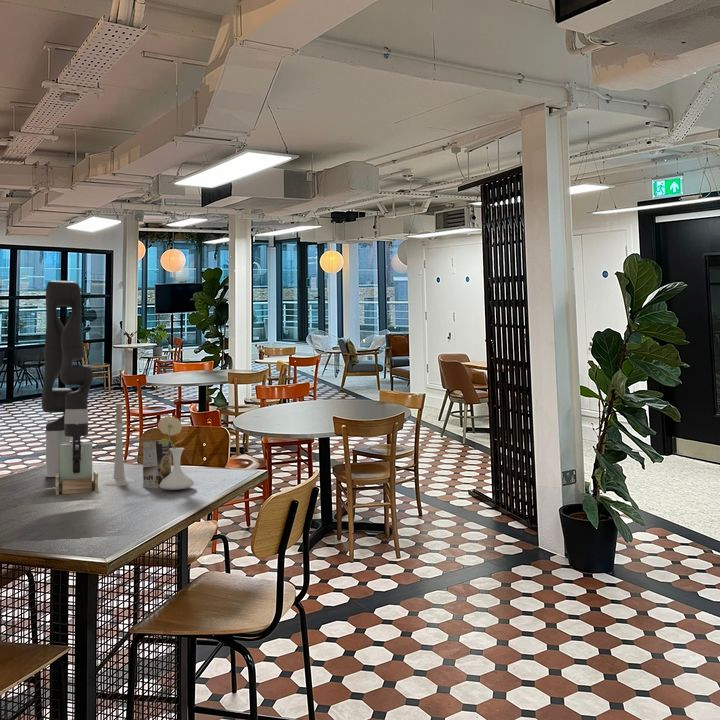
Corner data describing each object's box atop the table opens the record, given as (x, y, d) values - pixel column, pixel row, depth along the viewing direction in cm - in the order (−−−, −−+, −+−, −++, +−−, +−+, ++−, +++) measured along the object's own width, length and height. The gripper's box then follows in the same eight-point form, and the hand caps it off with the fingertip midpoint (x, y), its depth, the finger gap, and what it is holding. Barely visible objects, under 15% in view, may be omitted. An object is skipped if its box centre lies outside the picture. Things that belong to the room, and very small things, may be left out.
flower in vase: (200, 487, 216) (200, 414, 218) (182, 492, 205) (182, 415, 207) (167, 486, 220) (167, 415, 221) (148, 491, 209) (147, 416, 210)
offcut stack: (62, 493, 211) (62, 479, 211) (91, 490, 215) (91, 477, 215) (62, 494, 208) (62, 480, 208) (91, 492, 212) (91, 478, 212)
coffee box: (159, 488, 216) (159, 441, 217) (142, 488, 217) (142, 441, 218) (172, 484, 225) (172, 439, 226) (156, 484, 226) (155, 439, 227)
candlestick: (145, 484, 227) (144, 401, 229) (112, 489, 217) (112, 402, 219) (124, 482, 235) (124, 402, 236) (92, 486, 224) (92, 402, 226)
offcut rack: (55, 490, 215) (55, 473, 215) (95, 487, 221) (95, 470, 221) (55, 494, 206) (55, 476, 206) (97, 491, 211) (97, 473, 212)
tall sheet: (60, 491, 214) (60, 444, 215) (91, 488, 219) (91, 442, 220) (60, 492, 212) (60, 444, 213) (92, 489, 216) (92, 443, 217)
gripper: (64, 422, 221) (63, 471, 220) (64, 423, 209) (64, 475, 208) (87, 421, 225) (86, 469, 224) (89, 422, 212) (89, 473, 211)
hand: (76, 472), depth 216 cm, fingers closed on tall sheet, 3 cm apart
